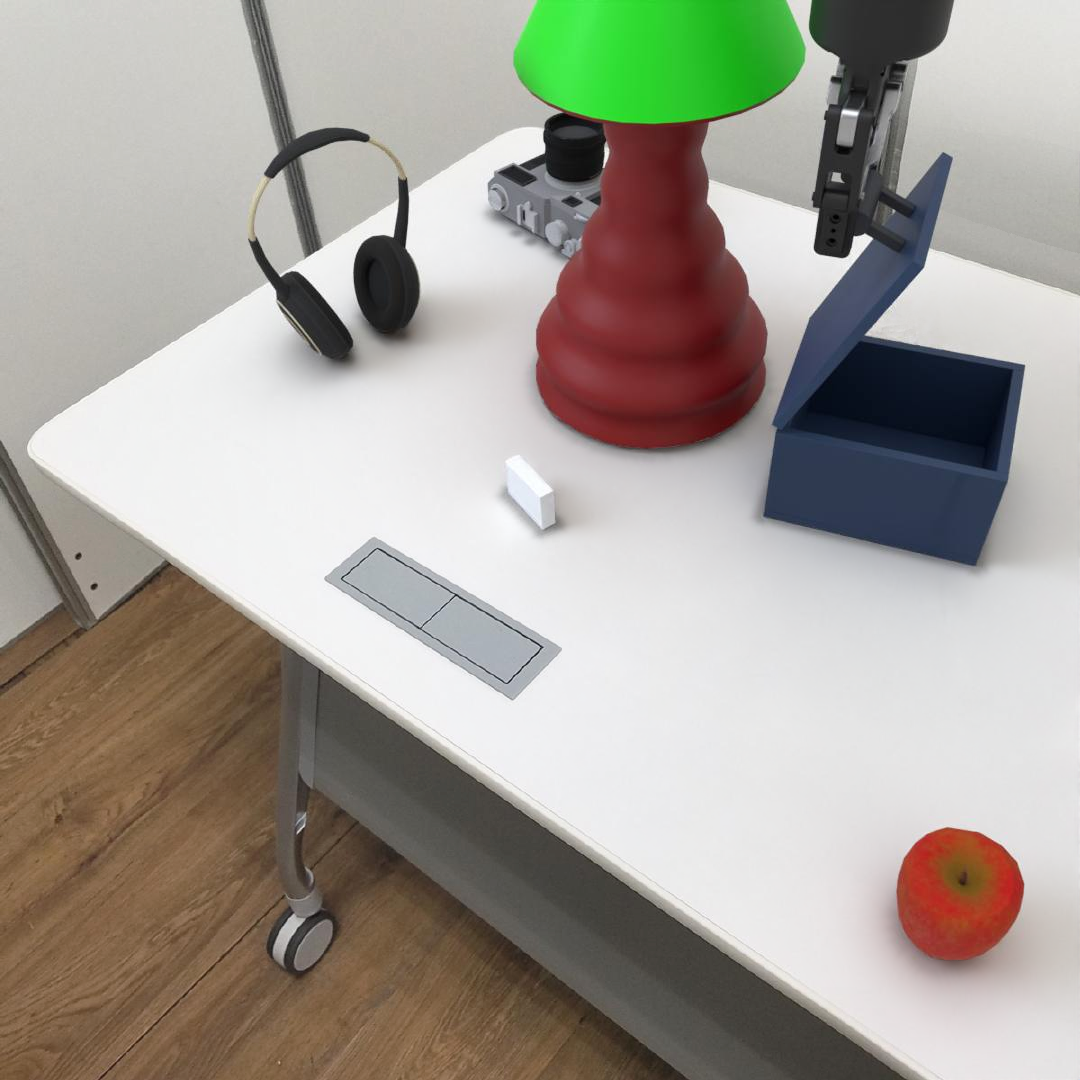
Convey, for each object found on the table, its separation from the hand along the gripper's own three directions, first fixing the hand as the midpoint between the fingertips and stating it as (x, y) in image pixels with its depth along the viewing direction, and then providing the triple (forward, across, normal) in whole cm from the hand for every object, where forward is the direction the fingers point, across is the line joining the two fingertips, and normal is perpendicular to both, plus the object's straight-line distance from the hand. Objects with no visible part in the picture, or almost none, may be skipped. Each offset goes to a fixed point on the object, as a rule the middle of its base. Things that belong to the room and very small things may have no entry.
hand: (844, 216), depth 70 cm
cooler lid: (+6, 0, -2) cm, 6 cm away
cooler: (+23, 0, -6) cm, 23 cm away
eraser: (+23, -11, +19) cm, 31 cm away
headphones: (+23, +4, +42) cm, 48 cm away
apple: (+23, -34, -15) cm, 44 cm away
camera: (+23, +27, +29) cm, 45 cm away
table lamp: (+23, +7, +15) cm, 28 cm away
